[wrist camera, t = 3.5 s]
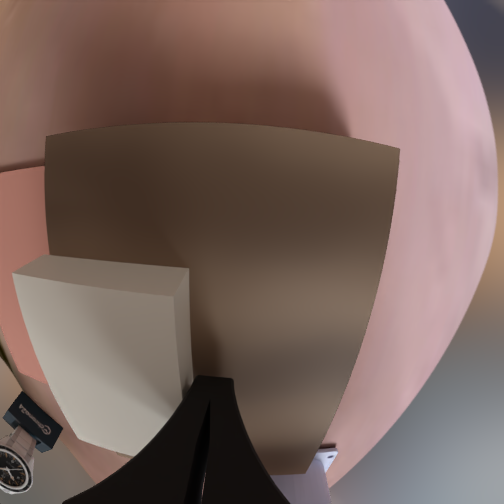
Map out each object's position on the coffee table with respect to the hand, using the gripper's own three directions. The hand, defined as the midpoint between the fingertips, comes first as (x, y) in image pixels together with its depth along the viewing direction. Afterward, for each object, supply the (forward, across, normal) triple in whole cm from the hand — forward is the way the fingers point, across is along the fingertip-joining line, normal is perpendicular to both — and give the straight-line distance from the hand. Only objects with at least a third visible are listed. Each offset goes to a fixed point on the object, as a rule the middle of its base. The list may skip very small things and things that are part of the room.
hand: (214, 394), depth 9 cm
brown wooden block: (+5, +1, 0) cm, 5 cm away
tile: (+1, +4, 0) cm, 4 cm away
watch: (+5, +20, +15) cm, 25 cm away
